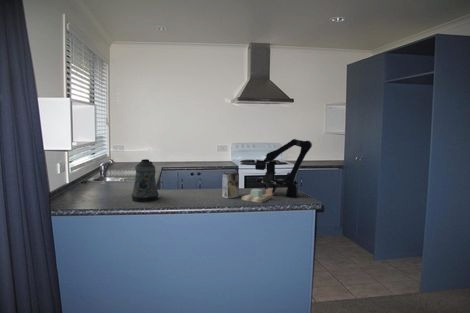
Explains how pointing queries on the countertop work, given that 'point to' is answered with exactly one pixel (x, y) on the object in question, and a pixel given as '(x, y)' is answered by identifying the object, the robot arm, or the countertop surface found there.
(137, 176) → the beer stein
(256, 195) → the sage block
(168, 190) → the countertop surface
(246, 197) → the birch plinth
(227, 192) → the coffee box
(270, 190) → the terracotta cube
